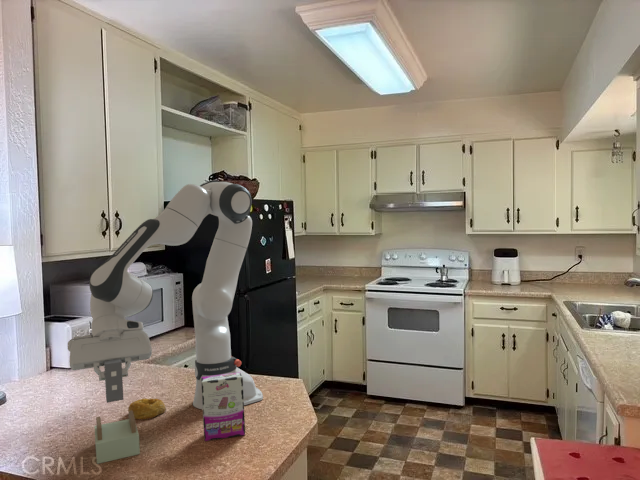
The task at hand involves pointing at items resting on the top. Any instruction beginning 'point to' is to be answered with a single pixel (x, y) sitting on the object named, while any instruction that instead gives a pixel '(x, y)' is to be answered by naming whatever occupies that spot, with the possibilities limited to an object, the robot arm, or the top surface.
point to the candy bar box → (223, 406)
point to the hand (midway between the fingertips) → (113, 377)
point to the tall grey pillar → (113, 380)
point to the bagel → (147, 408)
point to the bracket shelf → (116, 439)
